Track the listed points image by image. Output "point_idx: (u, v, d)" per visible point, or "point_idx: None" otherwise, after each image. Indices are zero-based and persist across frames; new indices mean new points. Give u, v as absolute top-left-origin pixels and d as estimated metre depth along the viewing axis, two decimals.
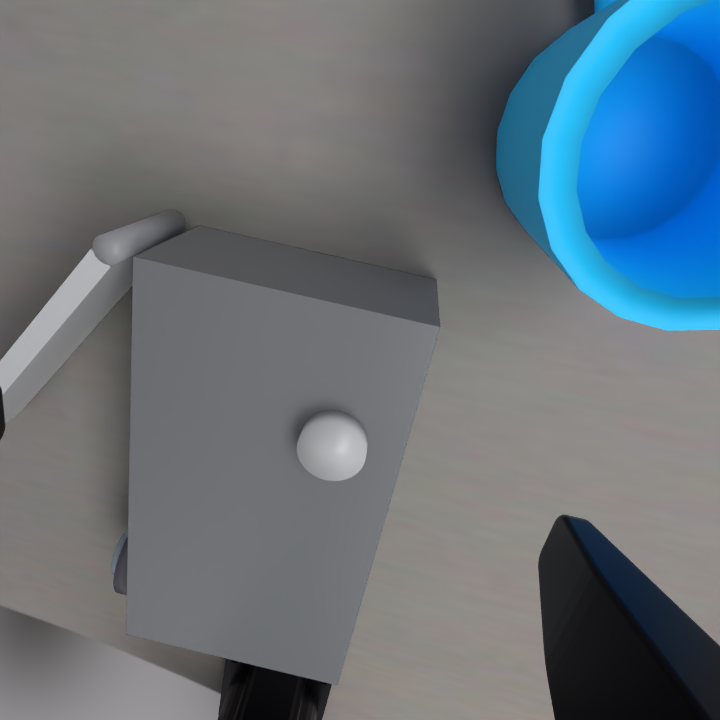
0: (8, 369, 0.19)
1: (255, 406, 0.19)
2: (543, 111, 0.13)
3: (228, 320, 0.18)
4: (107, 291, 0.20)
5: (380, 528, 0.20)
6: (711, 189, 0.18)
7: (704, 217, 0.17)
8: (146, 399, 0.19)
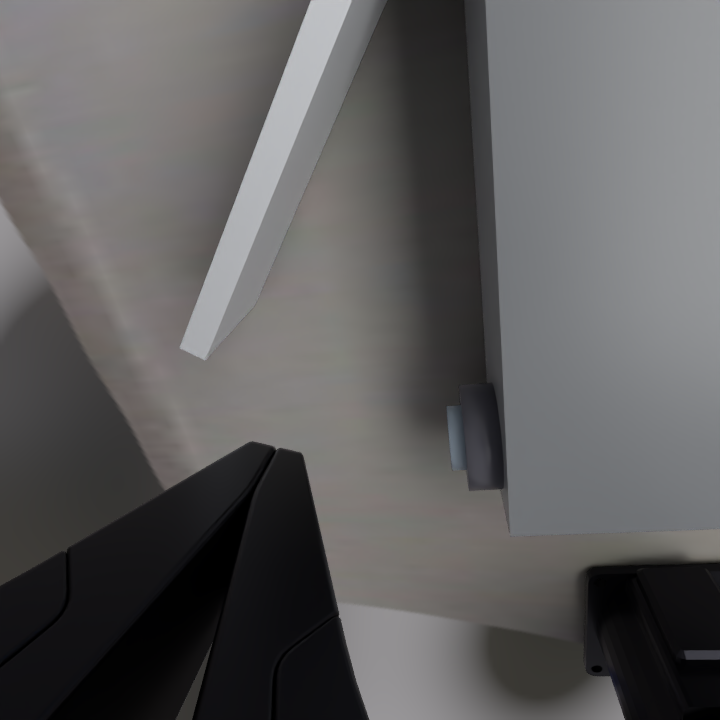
0: (285, 117, 0.12)
1: None
2: None
3: None
4: None
5: None
6: None
7: None
8: (517, 69, 0.11)
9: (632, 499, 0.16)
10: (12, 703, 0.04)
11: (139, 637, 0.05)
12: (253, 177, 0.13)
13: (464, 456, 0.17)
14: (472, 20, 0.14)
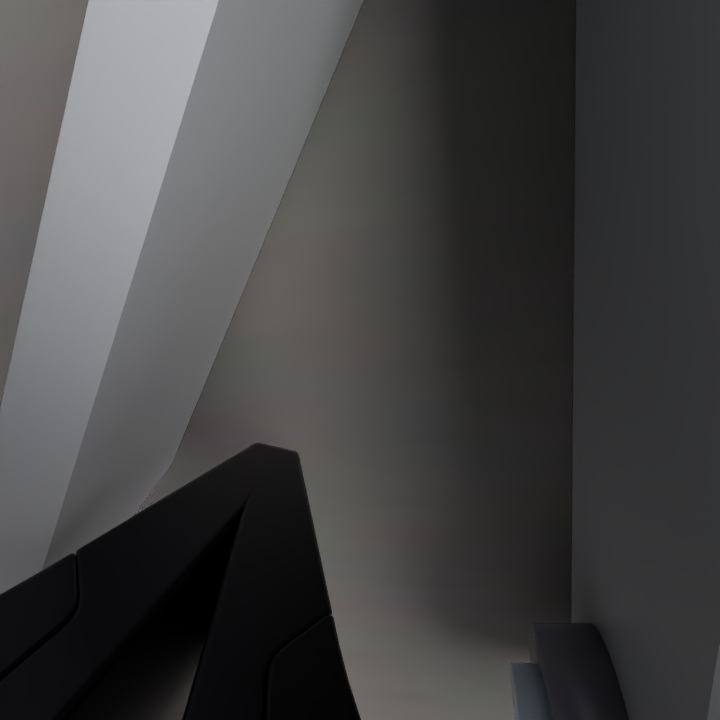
0: (107, 172, 0.04)
1: None
2: None
3: None
4: None
5: None
6: None
7: None
8: None
9: None
10: (25, 706, 0.04)
11: (149, 639, 0.05)
12: (43, 333, 0.05)
13: None
14: None
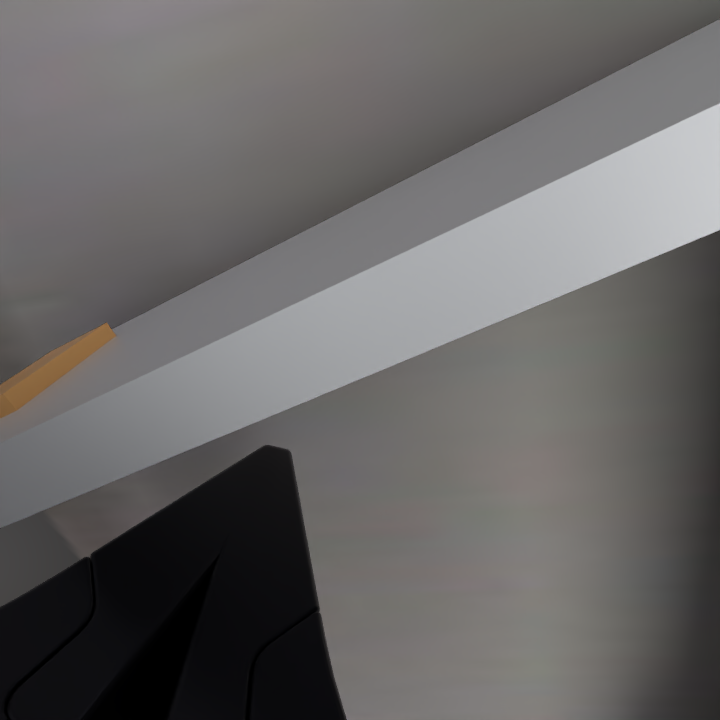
0: (443, 291, 0.04)
1: None
2: None
3: None
4: None
5: None
6: None
7: None
8: None
9: None
10: (46, 711, 0.04)
11: (165, 643, 0.05)
12: (255, 349, 0.04)
13: None
14: None
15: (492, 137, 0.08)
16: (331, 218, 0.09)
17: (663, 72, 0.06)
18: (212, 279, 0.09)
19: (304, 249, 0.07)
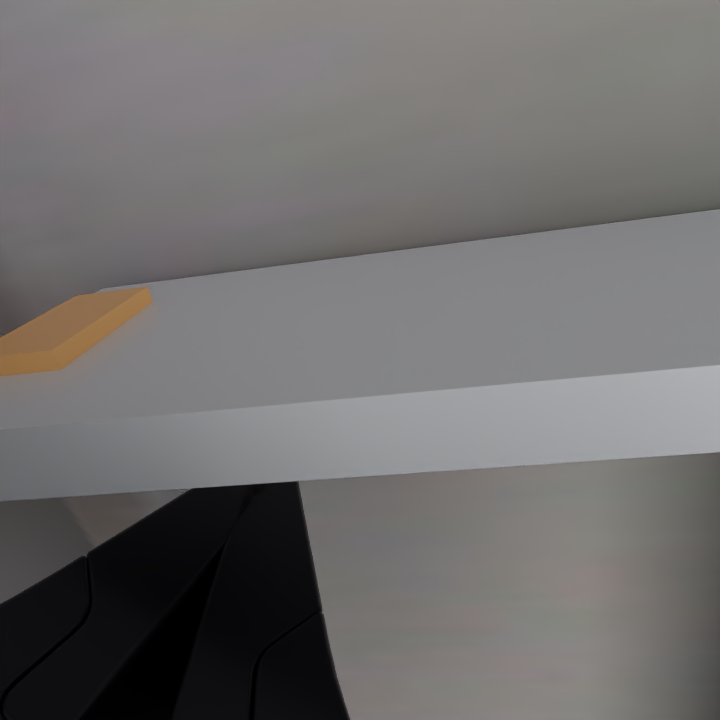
0: (572, 421, 0.04)
1: None
2: None
3: None
4: None
5: None
6: None
7: None
8: None
9: None
10: (41, 710, 0.04)
11: (161, 642, 0.05)
12: (376, 416, 0.05)
13: None
14: None
15: (574, 233, 0.08)
16: (399, 253, 0.09)
17: None
18: (261, 271, 0.09)
19: (389, 292, 0.07)
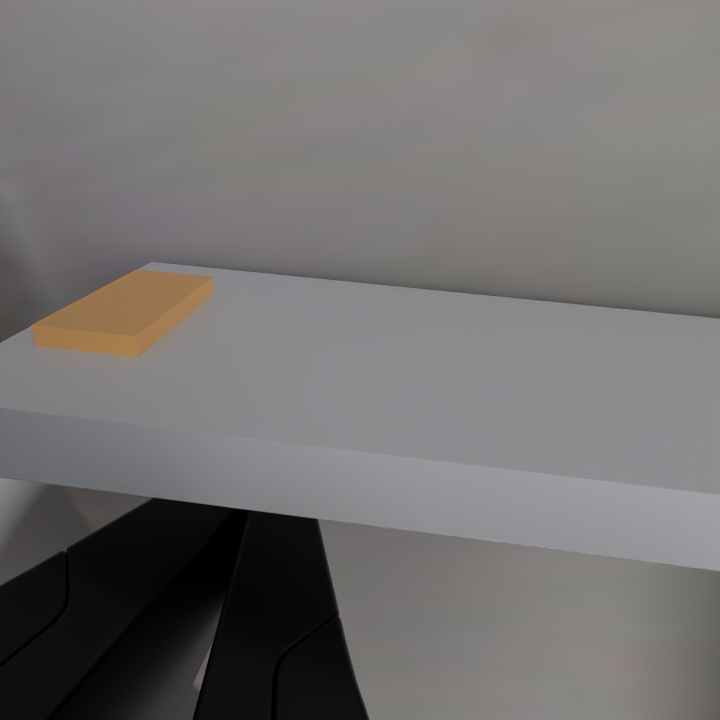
0: (661, 526, 0.05)
1: None
2: None
3: None
4: None
5: None
6: None
7: None
8: None
9: None
10: (12, 703, 0.04)
11: (139, 637, 0.05)
12: (479, 484, 0.05)
13: None
14: None
15: (630, 315, 0.09)
16: (460, 296, 0.09)
17: None
18: (320, 282, 0.09)
19: (463, 342, 0.07)
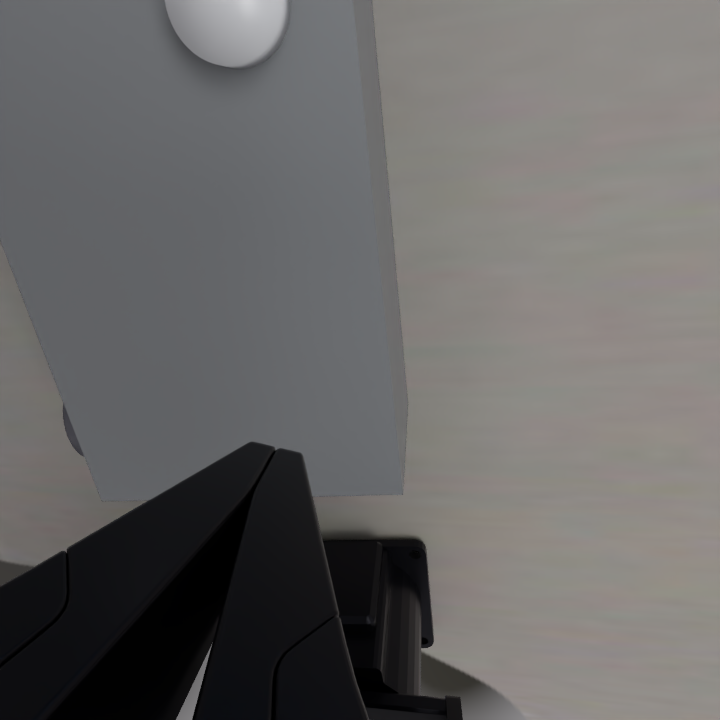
0: None
1: None
2: None
3: None
4: None
5: (366, 163, 0.12)
6: None
7: None
8: None
9: (192, 467, 0.17)
10: (12, 703, 0.04)
11: (139, 637, 0.05)
12: None
13: None
14: None
15: None
16: None
17: None
18: None
19: None
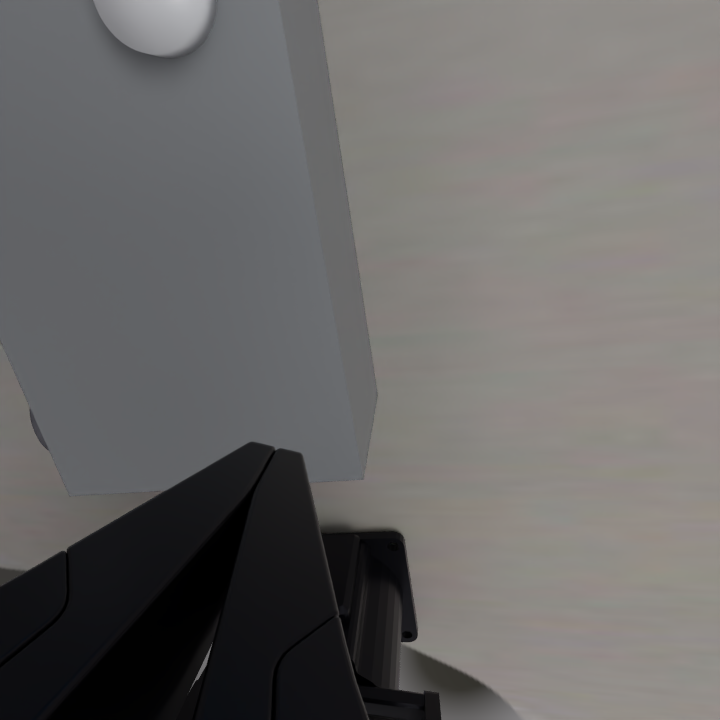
0: None
1: None
2: None
3: None
4: None
5: (301, 146, 0.13)
6: None
7: None
8: None
9: (155, 459, 0.17)
10: (12, 702, 0.04)
11: (139, 637, 0.05)
12: None
13: None
14: None
15: None
16: None
17: None
18: None
19: None
